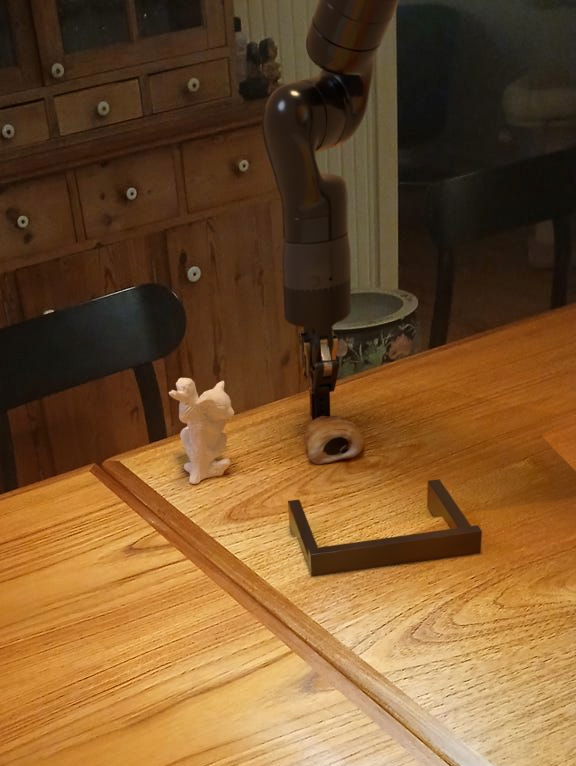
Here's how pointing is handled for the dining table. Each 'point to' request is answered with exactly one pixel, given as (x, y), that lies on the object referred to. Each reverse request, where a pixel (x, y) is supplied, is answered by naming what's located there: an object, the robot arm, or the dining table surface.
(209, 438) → the white animal figurine
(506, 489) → the dining table surface
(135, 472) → the dining table surface
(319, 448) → the pastry
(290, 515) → the frame
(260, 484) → the dining table surface
